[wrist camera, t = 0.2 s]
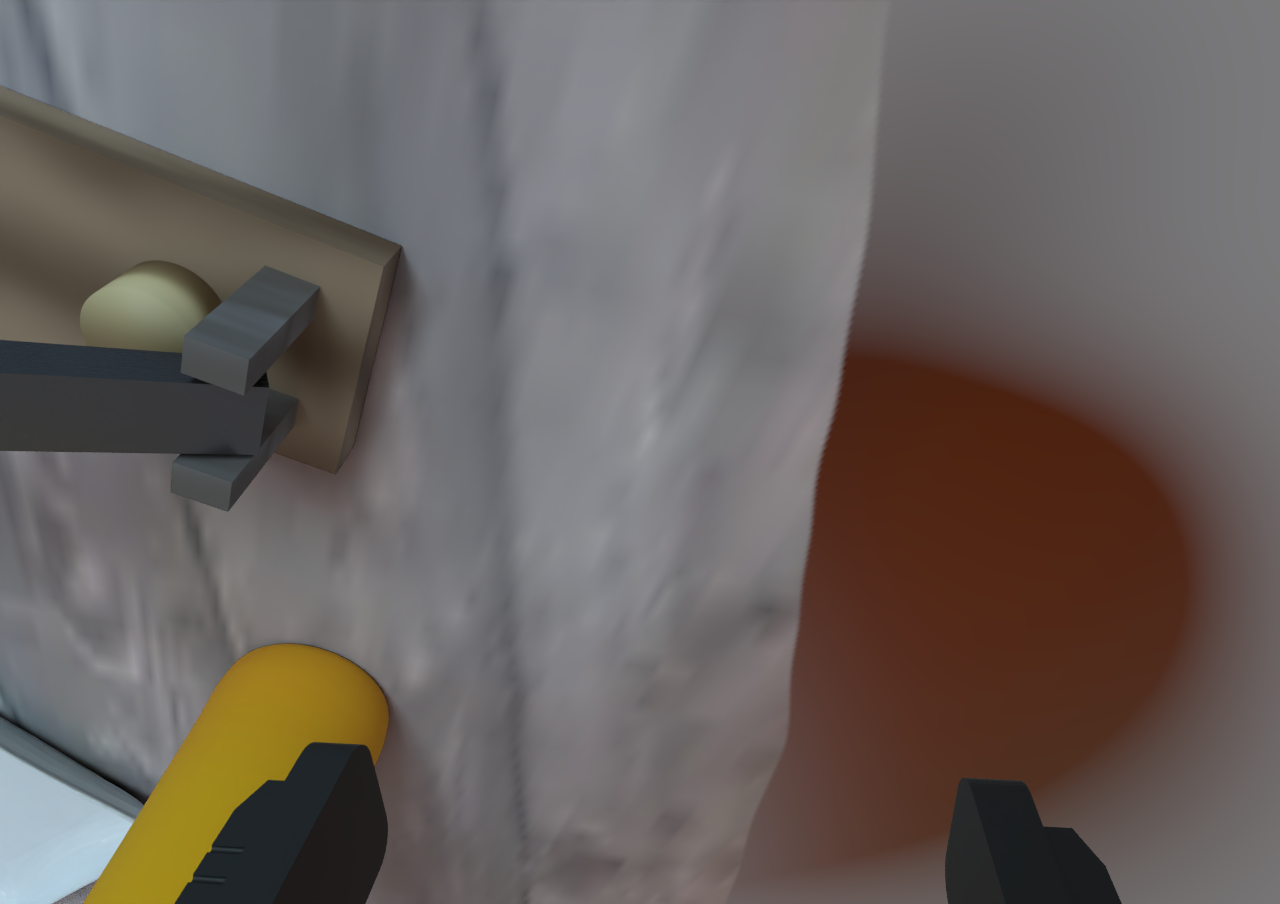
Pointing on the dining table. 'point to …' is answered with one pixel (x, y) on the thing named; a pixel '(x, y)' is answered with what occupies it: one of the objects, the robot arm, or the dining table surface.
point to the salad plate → (54, 820)
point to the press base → (196, 225)
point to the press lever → (120, 403)
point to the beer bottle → (240, 761)
